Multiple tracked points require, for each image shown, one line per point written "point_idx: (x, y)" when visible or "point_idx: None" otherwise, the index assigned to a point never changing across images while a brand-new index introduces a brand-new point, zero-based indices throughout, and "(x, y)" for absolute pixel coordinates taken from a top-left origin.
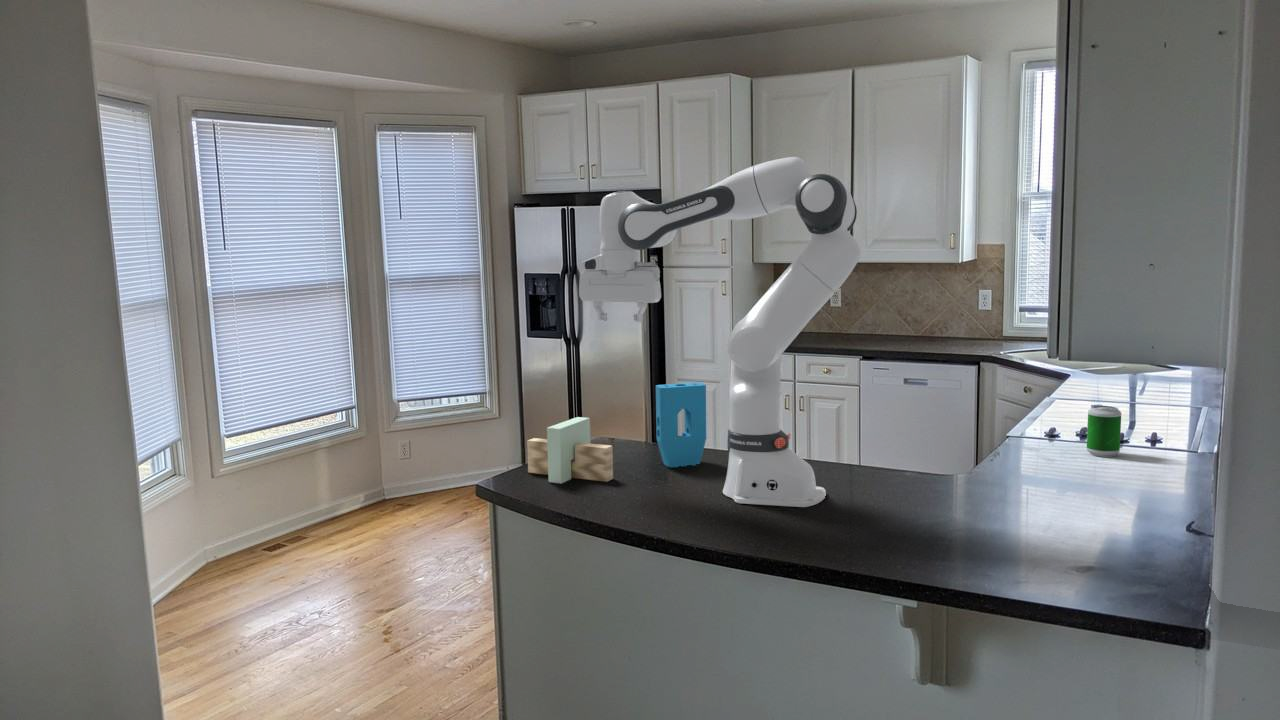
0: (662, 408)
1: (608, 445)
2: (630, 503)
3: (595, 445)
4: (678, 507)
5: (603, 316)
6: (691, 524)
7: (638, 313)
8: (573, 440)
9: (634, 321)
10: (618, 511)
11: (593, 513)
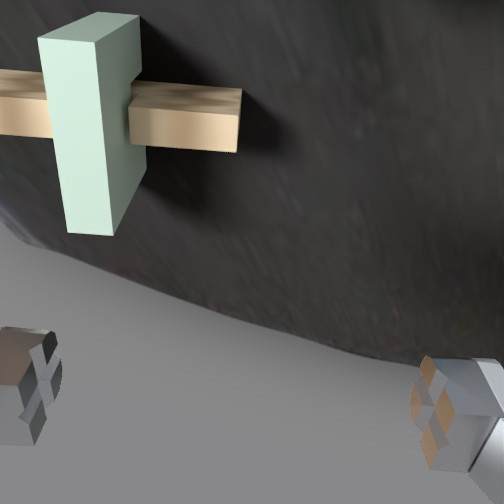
0: None
1: (226, 117)
2: (351, 251)
3: (189, 128)
4: (450, 247)
5: (45, 418)
6: (485, 318)
7: (496, 488)
8: (120, 143)
9: (415, 403)
10: (345, 295)
11: (306, 314)
